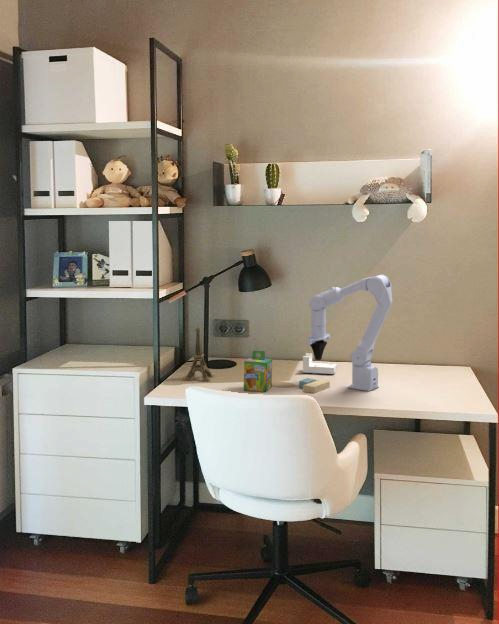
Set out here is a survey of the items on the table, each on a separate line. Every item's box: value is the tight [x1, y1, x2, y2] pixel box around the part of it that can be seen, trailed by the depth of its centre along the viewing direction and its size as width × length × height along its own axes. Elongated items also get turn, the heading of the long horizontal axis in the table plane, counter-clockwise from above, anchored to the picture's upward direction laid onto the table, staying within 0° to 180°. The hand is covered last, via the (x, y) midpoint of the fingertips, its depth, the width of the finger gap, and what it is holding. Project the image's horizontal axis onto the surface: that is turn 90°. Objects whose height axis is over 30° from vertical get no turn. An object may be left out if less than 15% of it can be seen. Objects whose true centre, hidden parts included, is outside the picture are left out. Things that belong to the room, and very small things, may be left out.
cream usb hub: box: [302, 379, 331, 394], centre depth 294 cm, size 5×11×2 cm, turn 143°
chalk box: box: [243, 350, 273, 393], centre depth 294 cm, size 9×9×15 cm
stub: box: [298, 377, 317, 389], centre depth 298 cm, size 4×6×2 cm, turn 143°
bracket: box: [302, 353, 338, 375], centre depth 321 cm, size 13×7×8 cm, turn 75°
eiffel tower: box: [182, 326, 215, 383], centre depth 312 cm, size 11×11×25 cm
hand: (318, 359), depth 303 cm, fingers closed
